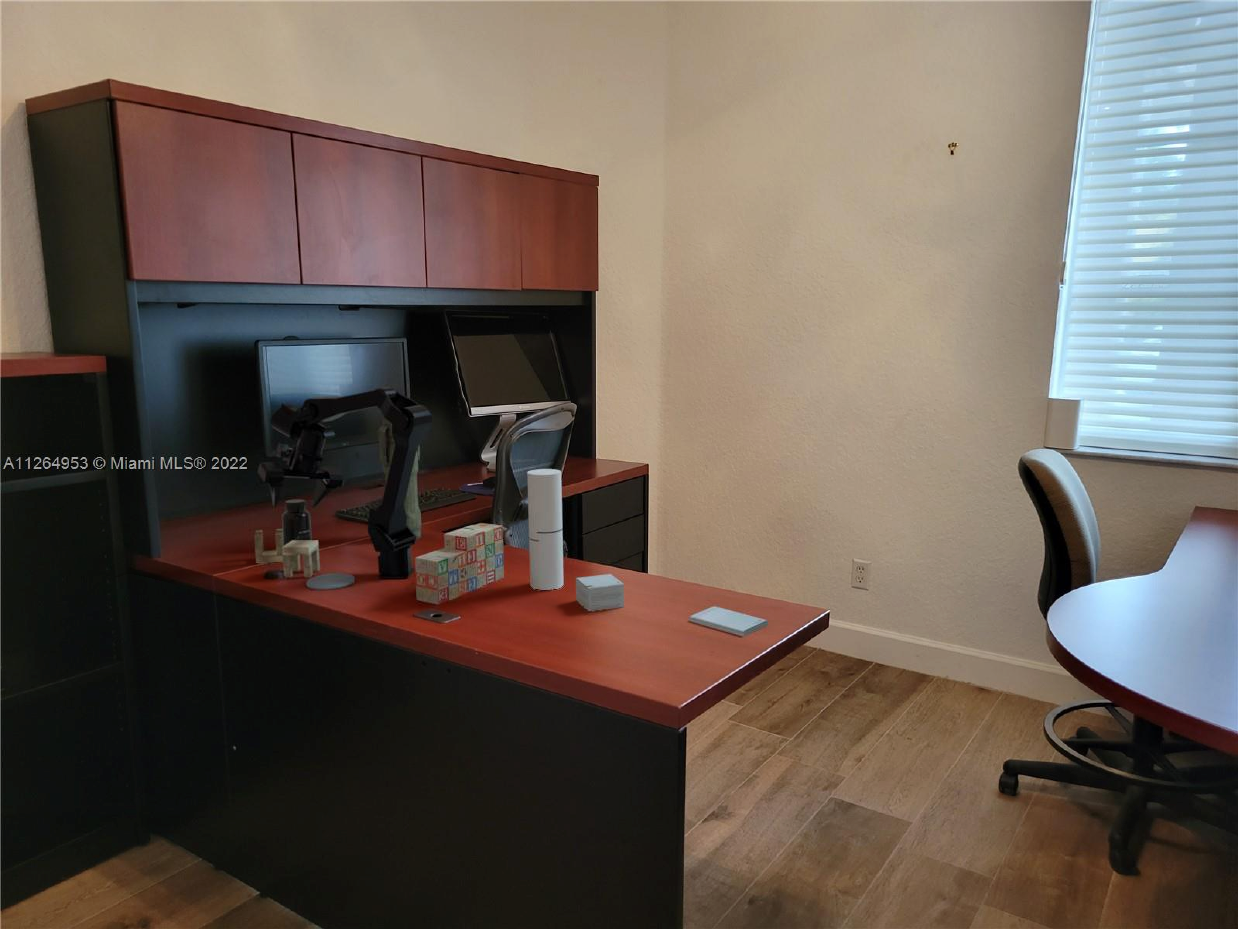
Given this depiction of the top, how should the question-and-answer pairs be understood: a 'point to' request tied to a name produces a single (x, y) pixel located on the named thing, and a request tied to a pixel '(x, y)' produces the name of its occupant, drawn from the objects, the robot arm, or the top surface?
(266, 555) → the upturned stool
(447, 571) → the stack of blocks
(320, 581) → the pad
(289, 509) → the supplement bottle
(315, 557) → the wooden stool
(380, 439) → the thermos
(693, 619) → the hard drive
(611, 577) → the stack of note paper
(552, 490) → the cylindrical container
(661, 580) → the top surface
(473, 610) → the top surface
